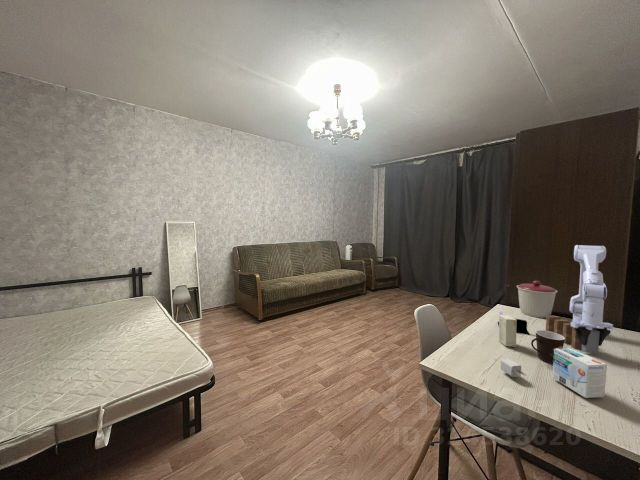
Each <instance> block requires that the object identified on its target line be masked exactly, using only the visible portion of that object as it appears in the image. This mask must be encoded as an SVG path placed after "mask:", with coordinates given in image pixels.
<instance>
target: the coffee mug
mask: <svg viewBox="0 0 640 480" xmlns="http://www.w3.org/2000/svg"><path fill="white" fill-rule="evenodd" d="M564 341H565V337H564V336H562V335H560V334H557V333H554V332H550V331H546V330H543V329H538V330H536V331H535V338H532V340H531V343H530V345H531V347H532V348H533V349H534V350H535V351H537V358H538V359H540V360H541V361H544V362H545V363H546V362H547V363H551V364H553V360H554V349H561V348H564V345H565V343H564ZM534 342H536V347H535V346H534Z"/></svg>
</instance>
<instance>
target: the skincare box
mask: <svg viewBox="0 0 640 480" xmlns="http://www.w3.org/2000/svg"><path fill="white" fill-rule="evenodd" d="M498 318H499V319H498V322H499V326H498V341H499V342H500V343H501V344H502V345H504V347H517V333H516V326H517V320H516V319H517V318H514V317H513V316H511V315H508V314H506V315H505V314H503V315H500V314H499V317H498Z"/></svg>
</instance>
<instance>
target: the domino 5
mask: <svg viewBox="0 0 640 480" xmlns="http://www.w3.org/2000/svg"><path fill="white" fill-rule="evenodd" d="M589 331H591V333H590V334H589V337H588V342H587V345H583V344H582V349H581V351H582V352H584V353H599V349H600V348H599V347H600V346H599V336H600V331H597V330H589Z"/></svg>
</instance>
